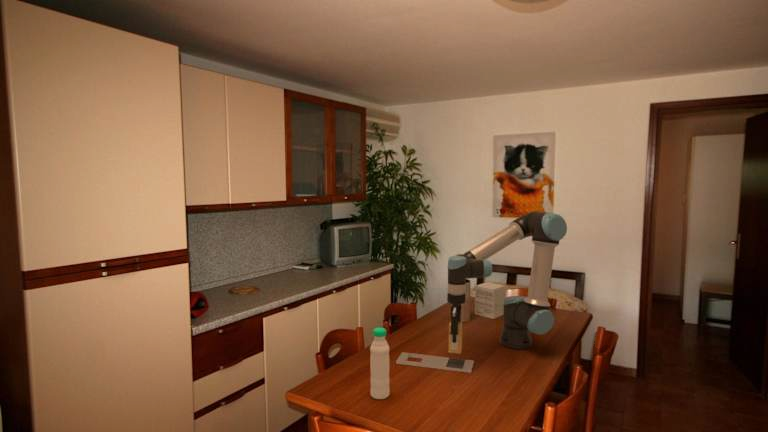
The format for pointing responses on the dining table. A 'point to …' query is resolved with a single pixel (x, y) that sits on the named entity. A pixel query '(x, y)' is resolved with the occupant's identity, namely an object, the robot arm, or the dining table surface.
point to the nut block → (458, 339)
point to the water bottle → (379, 365)
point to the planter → (466, 304)
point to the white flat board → (437, 362)
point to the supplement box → (490, 300)
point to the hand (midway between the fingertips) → (455, 346)
